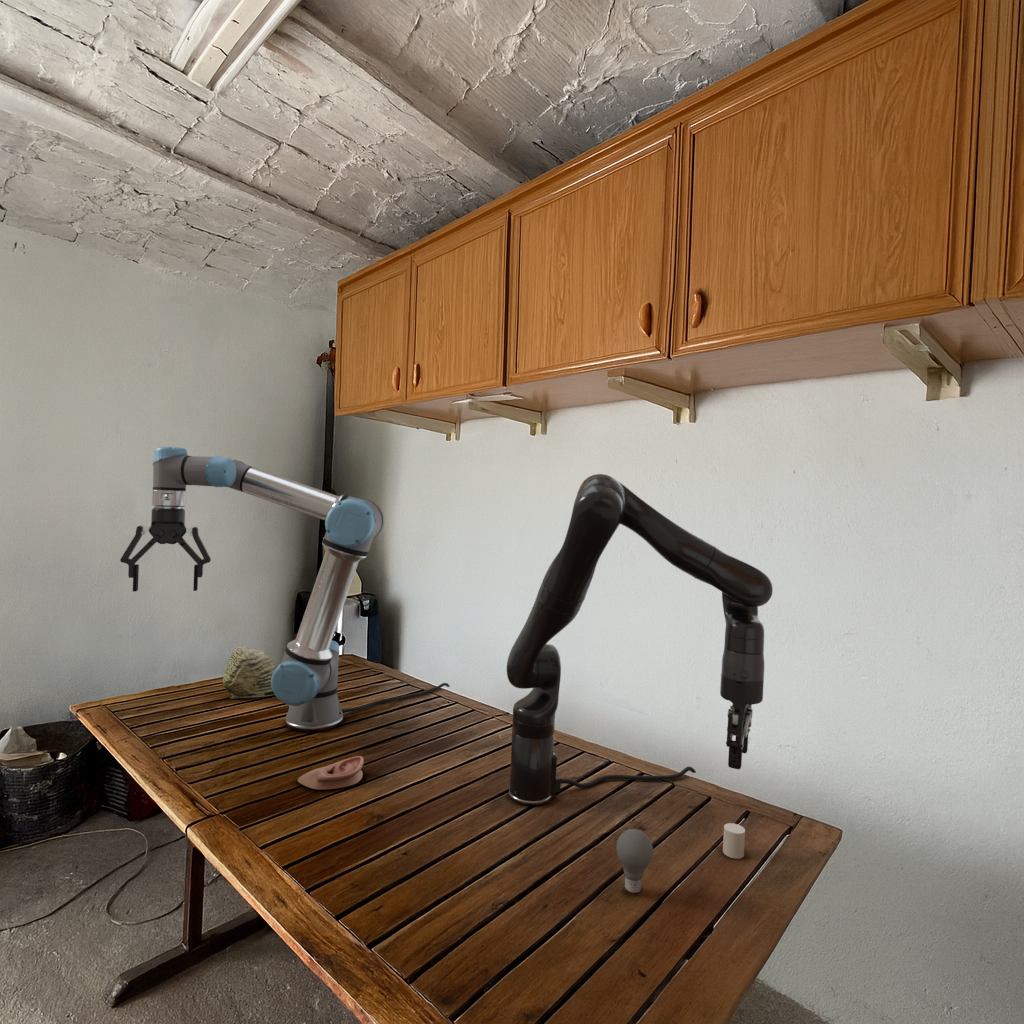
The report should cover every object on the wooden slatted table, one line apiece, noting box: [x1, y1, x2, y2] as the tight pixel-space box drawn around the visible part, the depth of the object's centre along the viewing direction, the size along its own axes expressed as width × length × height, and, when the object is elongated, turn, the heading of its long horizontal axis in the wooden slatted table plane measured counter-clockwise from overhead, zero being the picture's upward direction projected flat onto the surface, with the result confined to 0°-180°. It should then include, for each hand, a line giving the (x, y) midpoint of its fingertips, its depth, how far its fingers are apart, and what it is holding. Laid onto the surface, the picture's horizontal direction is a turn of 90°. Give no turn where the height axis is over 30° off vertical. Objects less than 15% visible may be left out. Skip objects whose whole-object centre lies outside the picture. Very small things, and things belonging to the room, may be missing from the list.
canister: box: [722, 822, 746, 860], centre depth 119 cm, size 4×4×5 cm
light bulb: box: [615, 828, 654, 894], centre depth 106 cm, size 6×6×10 cm
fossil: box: [222, 646, 277, 699], centre depth 198 cm, size 9×18×15 cm, turn 132°
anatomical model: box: [297, 755, 364, 791], centre depth 142 cm, size 13×4×12 cm
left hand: (165, 590), depth 162 cm, fingers open, 13 cm apart
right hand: (737, 759), depth 119 cm, fingers open, 8 cm apart
